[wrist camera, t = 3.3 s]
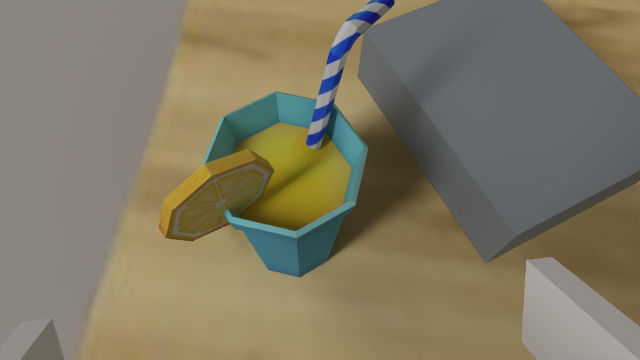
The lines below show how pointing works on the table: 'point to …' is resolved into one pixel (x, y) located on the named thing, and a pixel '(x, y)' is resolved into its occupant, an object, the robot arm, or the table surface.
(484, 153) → the slate block
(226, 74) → the table surface
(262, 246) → the cup
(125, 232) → the table surface
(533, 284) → the robot arm
